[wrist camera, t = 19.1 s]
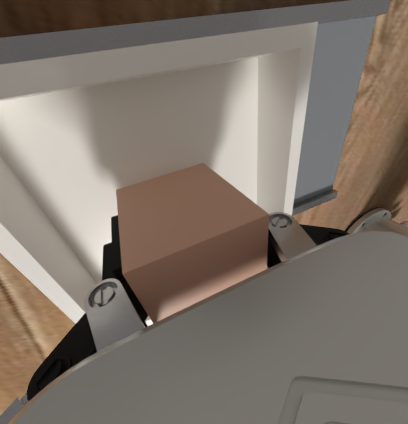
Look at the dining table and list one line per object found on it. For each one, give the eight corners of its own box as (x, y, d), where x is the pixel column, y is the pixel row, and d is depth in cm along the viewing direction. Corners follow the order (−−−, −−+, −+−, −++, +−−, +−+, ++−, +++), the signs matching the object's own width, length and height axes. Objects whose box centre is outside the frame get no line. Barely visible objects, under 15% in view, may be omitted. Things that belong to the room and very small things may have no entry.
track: (368, 3, 17) (391, -5, 16) (324, 192, 28) (335, 197, 27) (-101, 57, 10) (-137, 52, 8) (86, 287, 21) (85, 301, 19)
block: (203, 162, 12) (269, 214, 7) (213, 227, 14) (265, 295, 10) (115, 189, 10) (122, 274, 6) (146, 254, 13) (167, 346, 8)
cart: (236, 48, 14) (318, 21, 9) (243, 220, 23) (285, 261, 17) (-25, 88, 10) (-175, 88, 5) (104, 274, 19) (102, 349, 14)
